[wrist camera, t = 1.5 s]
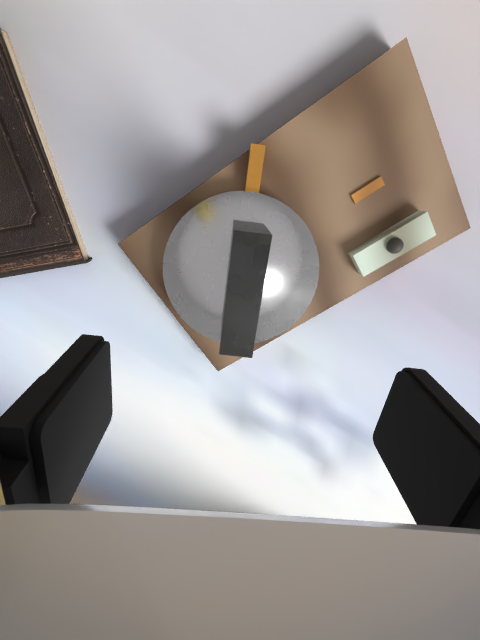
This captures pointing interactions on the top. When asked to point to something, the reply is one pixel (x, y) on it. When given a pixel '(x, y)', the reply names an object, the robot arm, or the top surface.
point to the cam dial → (241, 266)
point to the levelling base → (340, 187)
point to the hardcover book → (30, 185)
